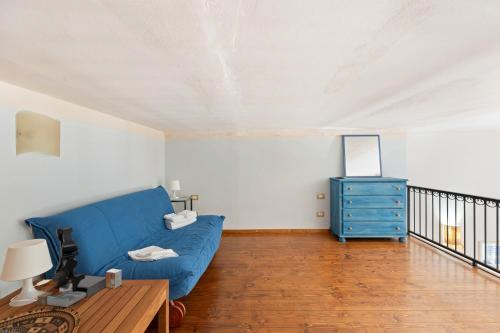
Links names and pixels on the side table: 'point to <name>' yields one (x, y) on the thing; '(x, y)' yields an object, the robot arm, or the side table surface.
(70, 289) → the disc
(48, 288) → the side table surface
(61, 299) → the tray
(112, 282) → the small box
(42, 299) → the pedestal
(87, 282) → the housing
